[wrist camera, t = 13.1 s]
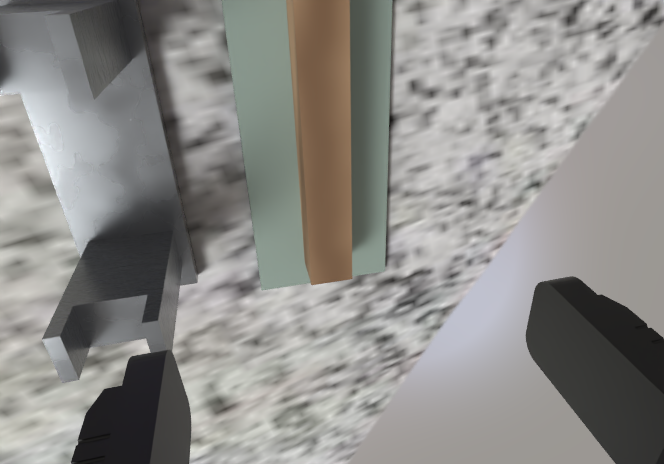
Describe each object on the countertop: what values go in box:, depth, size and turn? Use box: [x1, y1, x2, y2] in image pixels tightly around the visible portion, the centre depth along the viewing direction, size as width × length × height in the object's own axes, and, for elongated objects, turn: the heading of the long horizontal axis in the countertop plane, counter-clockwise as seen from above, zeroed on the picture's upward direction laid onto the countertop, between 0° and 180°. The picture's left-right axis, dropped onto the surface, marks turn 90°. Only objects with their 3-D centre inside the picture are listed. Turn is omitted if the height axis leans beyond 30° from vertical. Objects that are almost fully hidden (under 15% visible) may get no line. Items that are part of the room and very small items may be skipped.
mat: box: [222, 0, 392, 290], centre depth 31 cm, size 10×24×1 cm, turn 2°
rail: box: [286, 0, 352, 285], centre depth 29 cm, size 3×20×3 cm, turn 2°
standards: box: [0, 0, 198, 383], centre depth 24 cm, size 7×20×10 cm, turn 2°
